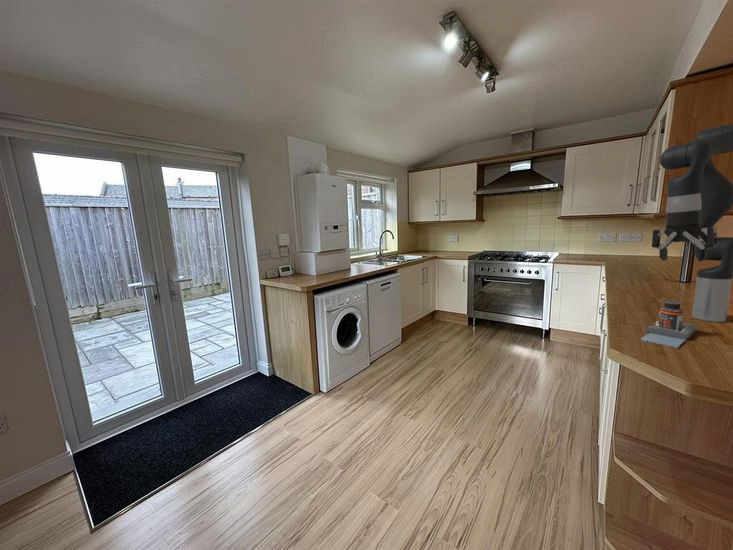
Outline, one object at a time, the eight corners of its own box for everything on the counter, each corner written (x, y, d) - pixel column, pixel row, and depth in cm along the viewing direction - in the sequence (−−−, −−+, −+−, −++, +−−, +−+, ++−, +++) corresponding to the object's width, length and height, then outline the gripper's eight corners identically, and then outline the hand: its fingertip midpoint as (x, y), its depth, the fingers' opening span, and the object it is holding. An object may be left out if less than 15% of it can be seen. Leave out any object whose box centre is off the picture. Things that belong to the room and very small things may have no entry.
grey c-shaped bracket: (661, 322, 119) (662, 315, 119) (698, 328, 111) (699, 320, 110) (646, 332, 109) (647, 324, 109) (685, 340, 101) (686, 332, 100)
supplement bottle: (653, 331, 110) (657, 301, 109) (662, 328, 113) (665, 299, 111) (675, 336, 105) (679, 305, 103) (683, 333, 107) (687, 302, 105)
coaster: (649, 334, 107) (649, 332, 107) (684, 341, 100) (684, 339, 100) (640, 340, 103) (641, 338, 102) (677, 348, 95) (677, 346, 95)
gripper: (722, 205, 88) (719, 259, 90) (659, 211, 101) (658, 258, 103) (711, 208, 85) (709, 263, 87) (648, 213, 98) (647, 261, 100)
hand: (681, 260), depth 95 cm, fingers open, 8 cm apart
